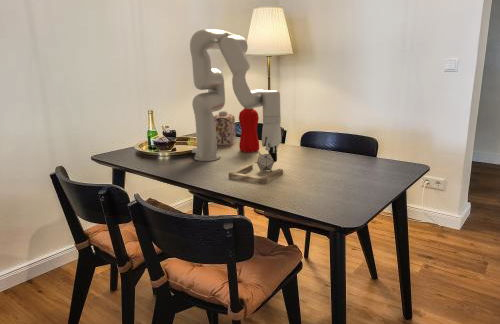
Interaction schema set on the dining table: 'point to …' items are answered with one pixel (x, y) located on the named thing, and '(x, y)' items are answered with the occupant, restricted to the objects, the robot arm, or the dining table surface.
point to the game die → (265, 162)
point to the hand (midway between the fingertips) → (273, 161)
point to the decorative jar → (225, 128)
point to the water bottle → (249, 130)
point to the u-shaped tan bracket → (240, 175)
